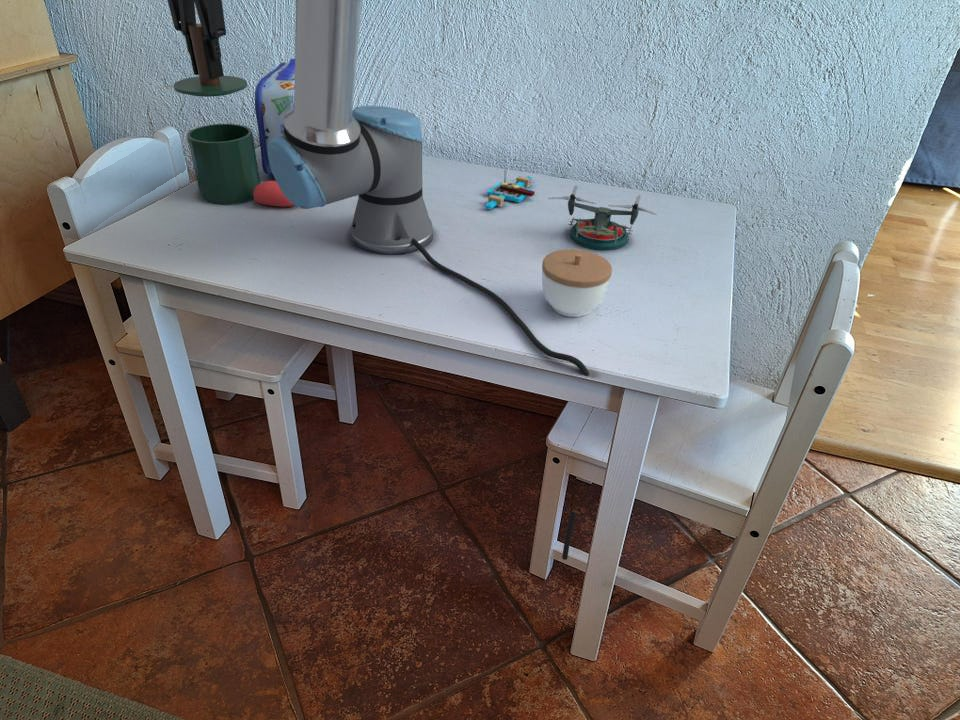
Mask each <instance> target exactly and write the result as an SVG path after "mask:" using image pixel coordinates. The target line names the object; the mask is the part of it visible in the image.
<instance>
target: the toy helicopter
mask: <svg viewBox="0 0 960 720" xmlns="http://www.w3.org/2000/svg"><path fill="white" fill-rule="evenodd" d="M578 187H579V186H578V185H574V186H573V189H572V191H571V194H570V195H569V196H568V195H565V196H555V197H554V196H553V197H547V200H566V201H567V209H568V214H569V216H573V215H574V211H575V208H578V209H581V210H585V211H588V212H591V213H594V218H575V217H572V218H571V220H569V223H568V225H569V226H570V230H569V238H570V239H571V240H572V241H573V242H574V243H575V244H577V245H578V246H581V247H584V248H587V249H590V250H595V251H596V250H597V251H614V250H618V249H621V248H623V247H625V246H626V245H627V244H628V242H629V236H630V235H633V233H632V232H633V231H634V230H632V228H633V225H634V224H635V222H636V220H637V218H638V217H639V213H640V212H644V213H648V214H651V215H653V216H658V215H659V214H657V213H655V212H653V211H650V210H648V209H646V208H644V207H642V206H639V205H640V201H641V197H642V194H637V196H636V198H635V201H634V204H631V205H630V204H608V207H610V208H608V207H603V206H599V207H597V206H593V205H597V204H598V203H597V202H594V201H590V200H587V199H584V198H581V197H578V196H576V195H577V191H578ZM576 201H577V202H576ZM578 202H583V203H578ZM584 203H588V204H591V205H588V204H584ZM611 207H612V208H621V209H611ZM622 208H623V209H629V210H622ZM630 209H631V210H630ZM639 211H640V212H639ZM612 216H630V219H629V224H630V227H629V226H626V225H621V224H619V223H617V222H616V221H615V222H614V221H611V218H612ZM573 223H575V224H573Z"/></svg>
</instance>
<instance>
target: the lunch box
mask: <svg viewBox="0 0 960 720" xmlns="http://www.w3.org/2000/svg"><path fill="white" fill-rule="evenodd" d="M294 84H295V57H294V58H290V59H289V61H286V62H284V61H283V62H281V63H279V64H278V65H277V66H276V67H275V68H274V69H273V70H271V71H270V72H268V73H267V74H266V75H264V76H263V77H262V78H261V79H259V80H258V82H257V84H256V86H255V91H254V111H255V112H254V113H255V119H256V124H257V131H258V140H259V147H260V158H261V159H260V160H261V167H262V170H263V173H264V174H265V175H266V176H268V177H271V176H274V175H273V173H272V170H271V167H270V164H269V159H268V144H269V142H270V141H271V140H272V139H273V138H275V137H276V136H283V124H284V116H285V114H286V113H287V112H288V111H289V110H291V109H292V108H294Z"/></svg>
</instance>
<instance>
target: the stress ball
mask: <svg viewBox="0 0 960 720" xmlns="http://www.w3.org/2000/svg"><path fill="white" fill-rule="evenodd" d="M253 196H254V199H253V200H255V201H256V202H257V203H258V204H260V205H263V206H271V207H282V208H283V207H284V208H285V207H286V208H287V207H295V205H294V204H292V203H291V202H290V201H289V200H288V199H287V198H286V196H285V195H284V194H283V192H282V191H281V189H280V187H279V186H278V184H277V182H276V180H267V181H266V180H265V181H262V182H261V183H260V184H258V185H257V186H256V187H255V189H254V191H253Z"/></svg>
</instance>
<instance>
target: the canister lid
mask: <svg viewBox="0 0 960 720" xmlns="http://www.w3.org/2000/svg"><path fill="white" fill-rule="evenodd" d="M189 31H190V35H191V40H192V45H193V50H194V55H195V60H196V64H197V69H198V74H199V75H197V76H193V77H186V78H183V79H180V80H178V81H176V82H174V83H173V90H174V91H175V92H176V93H179V94H183V95H188V96H192V97H200V98H201V97H202V98H203V97H206V98H208V97H209V98H210V97H212V98H213V97H223V96H227V95H232V94H234V93H238V92H241V91H243V90H245V89H247V87H248V82H247V80H246V79H244V78H243V77H242V78H241V77H239V76H234V75H224V76H221V77H217V78H213V79H212V78H210V77H209V72H208V67H207V62H206V57H205V52H204V47H203V42H202V40H203V39H202V38H201V37H205V36H204V32H203V29H202V26H201V23H196V24H191V25H189Z"/></svg>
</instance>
